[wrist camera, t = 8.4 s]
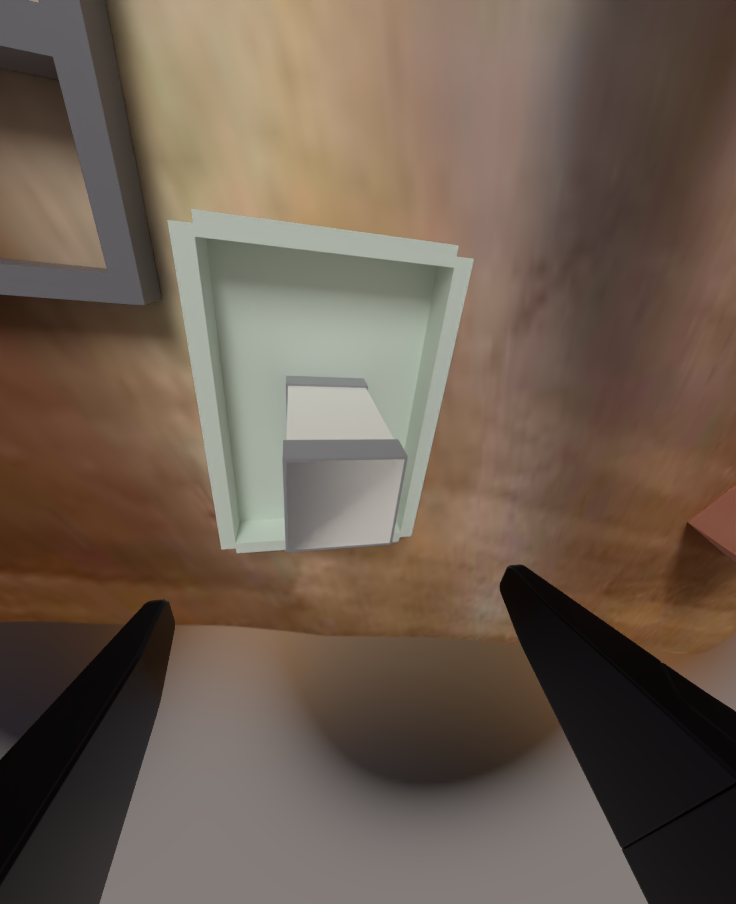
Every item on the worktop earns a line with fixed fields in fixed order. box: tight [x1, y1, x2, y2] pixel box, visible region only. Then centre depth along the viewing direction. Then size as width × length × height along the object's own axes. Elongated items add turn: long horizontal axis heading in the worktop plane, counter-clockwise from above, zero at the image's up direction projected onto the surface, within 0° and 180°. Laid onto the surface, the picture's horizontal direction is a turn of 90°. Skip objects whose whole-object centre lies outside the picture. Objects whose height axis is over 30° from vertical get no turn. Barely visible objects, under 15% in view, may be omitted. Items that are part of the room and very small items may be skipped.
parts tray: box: [167, 209, 474, 553], centre depth 18 cm, size 12×17×2 cm
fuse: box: [282, 376, 408, 553], centre depth 15 cm, size 4×4×8 cm
